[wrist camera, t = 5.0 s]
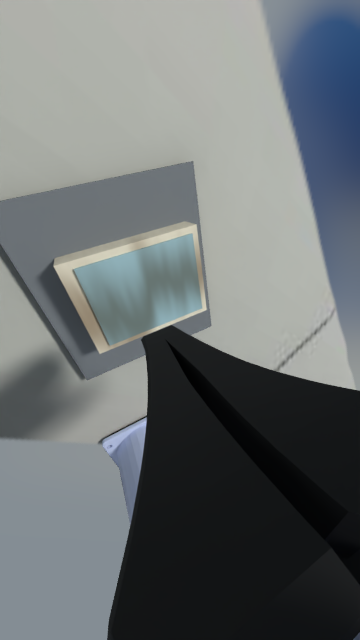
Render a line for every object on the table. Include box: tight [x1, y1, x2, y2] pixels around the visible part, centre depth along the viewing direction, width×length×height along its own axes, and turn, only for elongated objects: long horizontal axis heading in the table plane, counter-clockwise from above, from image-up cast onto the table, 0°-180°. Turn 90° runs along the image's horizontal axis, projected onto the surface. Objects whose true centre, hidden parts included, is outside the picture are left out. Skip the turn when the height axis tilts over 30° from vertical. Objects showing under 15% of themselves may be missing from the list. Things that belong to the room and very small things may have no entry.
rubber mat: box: [0, 161, 211, 380], centre depth 15 cm, size 12×11×1 cm
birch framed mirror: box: [54, 221, 207, 354], centre depth 14 cm, size 6×2×8 cm
